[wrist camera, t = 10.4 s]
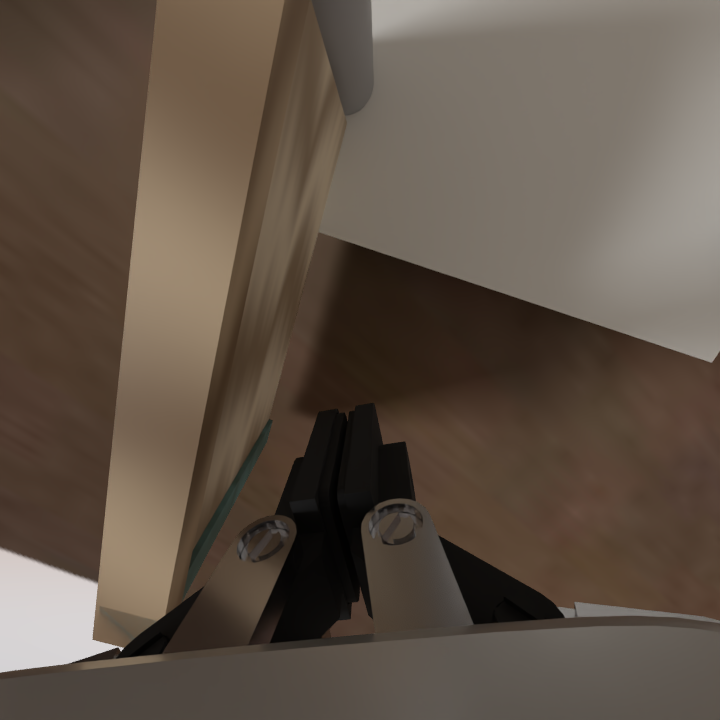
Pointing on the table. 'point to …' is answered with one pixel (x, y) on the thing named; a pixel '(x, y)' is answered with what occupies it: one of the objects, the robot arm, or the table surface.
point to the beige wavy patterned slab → (210, 283)
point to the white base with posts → (539, 152)
